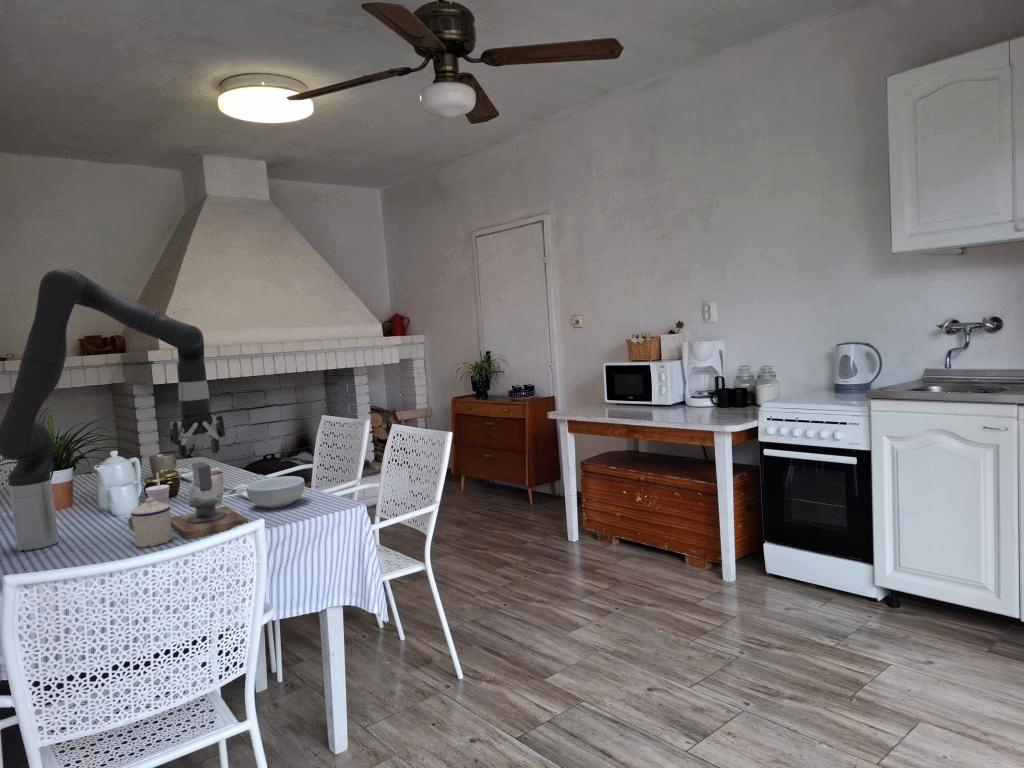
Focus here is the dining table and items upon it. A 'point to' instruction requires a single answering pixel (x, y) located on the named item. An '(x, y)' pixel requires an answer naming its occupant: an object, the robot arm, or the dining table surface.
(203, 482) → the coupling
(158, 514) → the teacup with lid
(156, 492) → the smoothie
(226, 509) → the lock base
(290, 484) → the cereal bowl
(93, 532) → the dining table surface
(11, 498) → the robot arm
